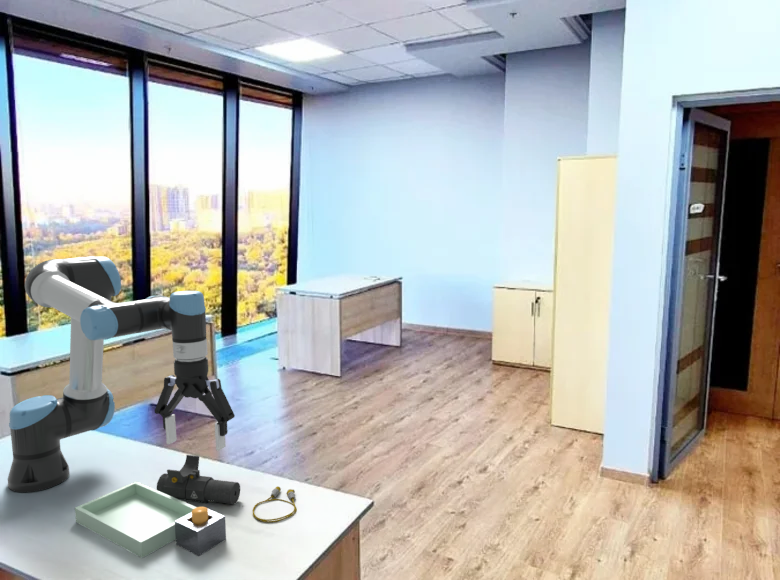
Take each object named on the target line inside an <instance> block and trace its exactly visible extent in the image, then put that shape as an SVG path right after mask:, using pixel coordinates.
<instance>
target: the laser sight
mask: <svg viewBox="0 0 780 580" xmlns="http://www.w3.org/2000/svg"><path fill="white" fill-rule="evenodd" d="M199 464H200V456H199V455H192V454H186V455H185V462H184V464H183V465H182V467H181V469H180V470H175V469H167V470H166V472H167V473H166V472H165V473H162V474H161V475H160V476H159V478H158V480H157V483H156V490H158V491H160V492H163V493H165V494H167V495H170V496H172V497H174V498H176V499H179V500H181V501H187V502H188V501H189V502H196V503H203V504H204V503H205V504H207V503H208V502H213V503H219V504H227V505H228V504H230V505H235V504H236V503H238V500H239V499H240V495H241V484H240V483H239V481H238V482H236V481H230V480H219V479H214V478H213V477H212V476H205V475H201V472H200V471H201V470H200V469H199Z"/></svg>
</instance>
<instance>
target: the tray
mask: <svg viewBox="0 0 780 580" xmlns="http://www.w3.org/2000/svg"><path fill="white" fill-rule="evenodd" d="M197 507H198V506H195V505H193V504H190V503H189V502H188V503H187V502H186V501H184V500H180V499H176V498H174V497H172V496H170V495H167V494H165V493H163V492H160V491H158V490H157V488H153V487H151V486H148V485H146V484H144V483H142V482H139V481H133V482H132V483H129V484H127V485H124V486H122V487H120V488H117V489H115V490H113V491H111V492H108V493H106V494H104V495H101V496H99V497H97V498H95V499H92V500H89V501H87V502H85V503H83V504H80V505H78V506H76V507H74V514H75V523H77V524H79V525H80V526H82V527H85V528H86V529H88V530H90V531H91V532H93V533H95V534H97V535H99V536H101V537H102V538H104V539H106V540H108V541H110V542H112V543H114V544H115V545H117V546H119V547H121V548H123V549H124V550H126V551H128V552H130V553H132V554H134V555H135V556H138V557H140V558H141V559H143V558H144V557H146V556H148V555H150V554H152V553H154V552H155V551H157V550H159V549H161V548H162V547H164V546H166V545H169V544H170V543H171V542H173V541H176V536H175V521H176V520H178V519H180V518H181V517H183V516H185V515H187V514H189V513H191V512H192V510H193V509H194V508H197Z"/></svg>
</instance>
